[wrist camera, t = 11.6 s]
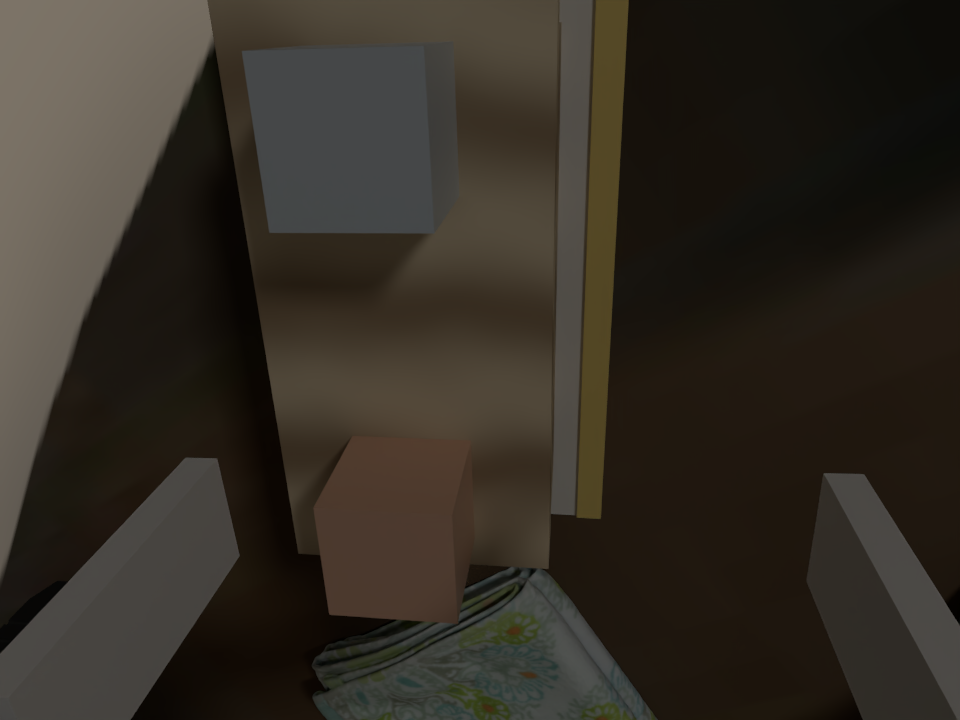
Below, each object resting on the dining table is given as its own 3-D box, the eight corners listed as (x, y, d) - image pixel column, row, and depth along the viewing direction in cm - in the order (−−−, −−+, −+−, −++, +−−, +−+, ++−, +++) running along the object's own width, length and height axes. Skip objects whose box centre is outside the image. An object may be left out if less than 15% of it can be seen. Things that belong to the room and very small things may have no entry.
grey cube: (459, 196, 25) (434, 233, 20) (322, 196, 25) (269, 232, 21) (453, 41, 23) (423, 45, 18) (304, 45, 23) (241, 50, 19)
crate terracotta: (474, 538, 31) (457, 623, 26) (363, 532, 31) (329, 614, 27) (471, 440, 29) (452, 515, 24) (352, 435, 29) (313, 507, 25)
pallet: (552, 481, 37) (548, 568, 31) (341, 471, 38) (298, 553, 32) (562, -7, 27) (558, -15, 22) (282, 2, 29) (206, -3, 23)
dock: (598, 462, 42) (600, 518, 37) (328, 451, 44) (298, 502, 39) (624, -58, 31) (632, -73, 26) (262, -43, 33) (210, -54, 28)
